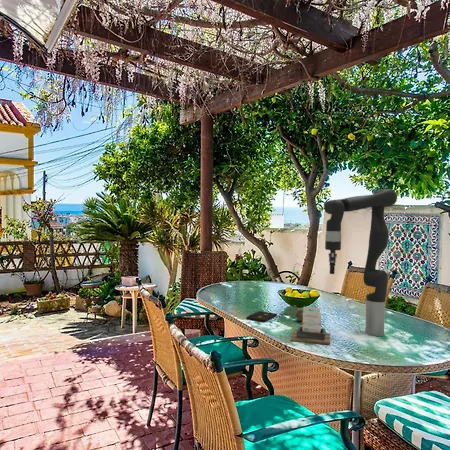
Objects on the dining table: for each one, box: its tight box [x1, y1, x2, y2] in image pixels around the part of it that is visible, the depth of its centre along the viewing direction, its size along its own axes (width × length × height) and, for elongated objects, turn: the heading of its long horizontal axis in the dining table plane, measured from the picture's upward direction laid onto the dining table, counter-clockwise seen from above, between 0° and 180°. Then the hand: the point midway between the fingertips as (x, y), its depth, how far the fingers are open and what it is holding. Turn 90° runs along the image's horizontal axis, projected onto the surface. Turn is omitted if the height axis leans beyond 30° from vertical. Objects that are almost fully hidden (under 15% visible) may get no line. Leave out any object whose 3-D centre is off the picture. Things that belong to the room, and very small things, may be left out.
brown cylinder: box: [295, 309, 303, 323], centre depth 218 cm, size 15×7×7 cm, turn 36°
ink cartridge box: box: [302, 306, 322, 333], centre depth 191 cm, size 9×5×15 cm, turn 70°
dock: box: [290, 326, 331, 346], centre depth 191 cm, size 16×18×4 cm
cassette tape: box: [245, 310, 278, 324], centre depth 229 cm, size 18×12×2 cm, turn 149°
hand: (332, 272), depth 194 cm, fingers open, 8 cm apart
